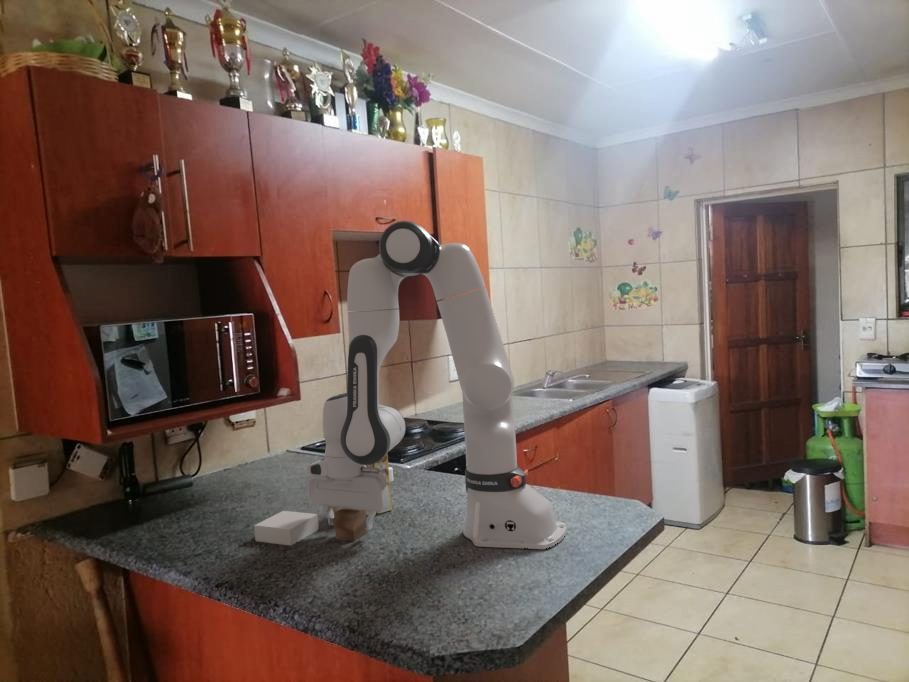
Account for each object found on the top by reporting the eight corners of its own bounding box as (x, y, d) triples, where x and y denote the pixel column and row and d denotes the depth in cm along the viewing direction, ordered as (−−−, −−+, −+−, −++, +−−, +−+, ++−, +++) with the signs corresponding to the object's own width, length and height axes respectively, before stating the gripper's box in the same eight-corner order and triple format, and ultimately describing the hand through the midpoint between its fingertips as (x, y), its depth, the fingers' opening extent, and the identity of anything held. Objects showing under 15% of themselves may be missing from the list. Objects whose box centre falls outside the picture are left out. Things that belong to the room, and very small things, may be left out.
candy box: (393, 510, 161) (388, 449, 160) (377, 514, 159) (373, 453, 158) (377, 502, 168) (372, 444, 167) (362, 506, 166) (357, 447, 165)
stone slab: (318, 531, 151) (317, 514, 151) (291, 547, 142) (289, 529, 142) (284, 527, 155) (283, 510, 155) (255, 542, 146) (254, 525, 146)
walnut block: (367, 533, 146) (365, 507, 146) (354, 541, 142) (352, 514, 142) (349, 531, 149) (347, 505, 148) (335, 539, 144) (333, 512, 144)
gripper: (393, 464, 142) (397, 526, 143) (318, 459, 151) (323, 517, 152) (377, 472, 137) (381, 536, 138) (301, 466, 146) (305, 526, 147)
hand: (350, 526), depth 145 cm, fingers open, 8 cm apart
